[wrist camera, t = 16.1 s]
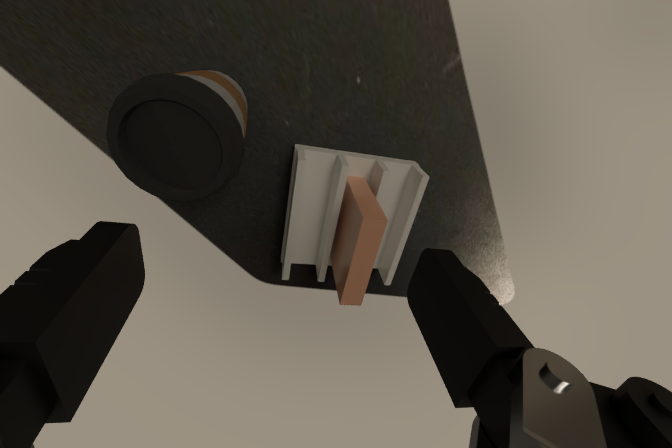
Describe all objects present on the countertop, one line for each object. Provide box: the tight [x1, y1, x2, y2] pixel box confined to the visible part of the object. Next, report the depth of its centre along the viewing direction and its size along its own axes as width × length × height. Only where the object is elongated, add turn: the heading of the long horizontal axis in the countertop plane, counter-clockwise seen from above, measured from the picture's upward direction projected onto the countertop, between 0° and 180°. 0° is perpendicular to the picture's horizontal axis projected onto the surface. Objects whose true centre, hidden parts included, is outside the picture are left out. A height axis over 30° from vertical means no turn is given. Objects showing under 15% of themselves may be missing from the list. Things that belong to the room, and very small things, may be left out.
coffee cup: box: [106, 70, 248, 201], centre depth 26 cm, size 8×8×15 cm
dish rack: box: [281, 144, 429, 285], centre depth 39 cm, size 16×15×5 cm
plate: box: [330, 176, 388, 305], centre depth 36 cm, size 11×2×10 cm, turn 169°
